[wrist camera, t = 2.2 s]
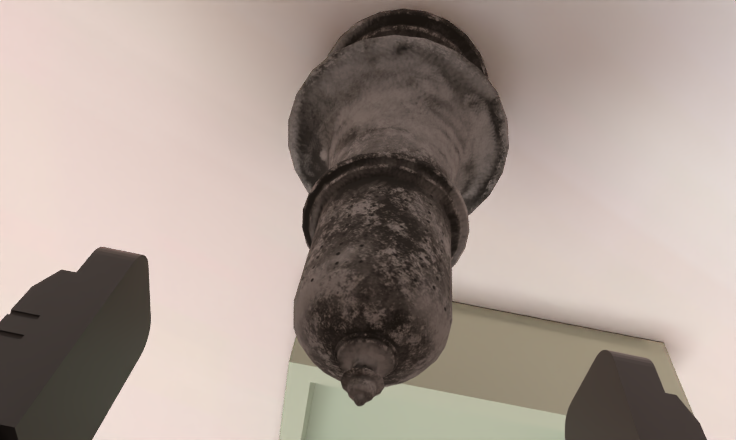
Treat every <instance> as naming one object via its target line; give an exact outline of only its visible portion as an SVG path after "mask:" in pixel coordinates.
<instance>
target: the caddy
mask: <svg viewBox="0 0 736 440" xmlns="http://www.w3.org/2000/svg"><path fill="white" fill-rule="evenodd" d="M602 350H609V351H614V352H619V353H624V354H629V355H634V356H639V357H644V358H648V359H650V360H651V361H652V363H653V364H654V366H655V368H656V371H657V373H658V376H659V378H660V381H661V383H662V386H663V388H664V391H665V393H669V394H674V395H677V396H678V397H679V399H680V400H681V401H682V402H683V403H684V405H685V406H686V407H687V408H688V409H689V411H690V412H691V413H692V414H693V412H692V410H691V407H690V405H689V403H688V400H687V398H686V395H685V393H684V391H683V388H682V386H681V383H680V381H679V379H678V376H677V374H676V371H675V369H674V367H673V364H672V362H671V359H670V357H669V355H668V352H667V350H666V347H665V345H664V343H661V342H656V341H651V340H645V339H640V338H635V337H630V336H625V335H620V334H615V333H609V332H604V331H599V330H594V329H589V328H584V327H579V326H573V325H568V324H563V323H558V322H553V321H548V320H543V319H537V318H532V317H527V316H522V315H517V314H512V313H507V312H502V311H496V310H491V309H486V308H481V307H476V306H471V305H466V304H460V303H455V302H452V324H451V328H450V333H449V337H448V340H447V343H446V346H445V348H444V350H443V351H442V353H441V354H440V356H439V357H438V359H437V360H436V361H435V362H434V363H433V364H431V365H430V366H429V367H428V368H427V369H426V370H424V371H423V372H422V373H420V374H419V375H418V376H416V377H414V378H412V379H410V380H408V381H406V382H404V383H401V384H397V385H393V386H389V387H384V389H383V390H382V392H381V394H379V395H377V396H375V397H373V399H372V400H371V401H369V402H367V403H365V404H364V405H363V406H357V405H356V404H355V403H354V401H353V400H352V399H351V398H350V397H349V396H348V393H347V392H346V391H345V390H344V389H343V388H342V385H341V381H338V380H336V379H335V378H333V377H331V376H329V375H327V374H326V373H324V372H323V371H322V370H321V369H319V368H318V367H317V366H316V365H315V364H314V363H313V362H312V361H311V359H310V358H309V357H308V355H307V354H306V352H305V351H304V349H303V348H302V347H301V345H300V344H299V342H298V339H297V336H296V338H295V342H294V345H293V349H292V353H291V356H290V360H289V365H288V373H287V381H286V388H285V396H284V404H283V412H282V420H281V428H280V435H279V440H565V420H566V415H567V411H568V408H569V405H570V403H571V401H572V400H573V398H574V396H575V394H576V392H577V391H578V389H579V387H580V385H581V383H582V381H583V380H584V378H585V376H586V374H587V372H588V371H589V369H590V367H591V365H592V363H593V362H594V360H595V358H596V356H597V355H598V354H599V352H601V351H602ZM693 416H694V415H693Z"/></svg>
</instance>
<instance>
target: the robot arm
mask: <svg viewBox="0 0 736 440" xmlns="http://www.w3.org/2000/svg"><path fill="white" fill-rule="evenodd" d="M150 323H151V313H150V291H149V268H148V260H147V258H146V256H144V255H140V254H135V253H130V252H126V251H121V250H116V249H111V248H106V247H99V248H97V249H96V250H95V251H94V252H93V253H92V254H91V256H90V257H89V258H88V259H87V260H86V262H85V263H84V264H83V265H82V266H81V268H80V269H79V270H78V271H77V272H71V271H66V270H60V271H58V272H57V273H55V274H53V275H52V276H50V277H48V278H46V279H45V280H43V281H41V282H39V283H38V284H36V285H34V286H32V287H31V288H30V289H29V291H28V292H27V293H26V294H25V295H24V296H23V297H22V298H21V299H20V300H19V302H18V303H17V304H16V305H15V306H14V307H13V308H12V309H11V313H10V315H8V314H7V315H6V316H5V317H4V318H3V319H2V320H1V321H0V440H92V439H93V437H94V435H95V434H96V432H97V430H98V428H99V427H100V425H101V423H102V421H103V420H104V418H105V416H106V415H107V413H108V411H109V409H110V408H111V406H112V404H113V402H114V401H115V399H116V397H117V395H118V394H119V392H120V390H121V389H122V387H123V385H124V383H125V382H126V380H127V378H128V376H129V375H130V373H131V371H132V370H133V368H134V366H135V364H136V363H137V361H138V359H139V357H140V356H141V354H142V352H143V350H144V347H145V345H146V342H147V339H148V335H149V330H150ZM565 440H707V439H706V437H705V434H704V432H703V430H702V427H701V425H700V423H699V422H698V420H697V419H696V418H695V417H694V416H693V414H692V413H691V412H690V411H689V409H688V408H687V407H686V406H685V405H684V403H683V402H682V401H681V400H680V399H679V397H678V396H677V395H674V394H669V393H665V391H664V388H663V386H662V383H661V381H660V378H659V376H658V373H657V371H656V368H655V366H654V364H653V363H652V361H651V360H650V359H648V358H644V357H639V356H634V355H629V354H624V353H619V352H614V351H609V350H602V351H601V352H599V354H598V355H597V356H596V358H595V360H594V362H593V363H592V365H591V367H590V369H589V371H588V372H587V374H586V376H585V378H584V380H583V381H582V383H581V385H580V387H579V389H578V391H577V392H576V394H575V396H574V398H573V400H572V401H571V403H570V405H569V408H568V411H567V415H566V420H565Z"/></svg>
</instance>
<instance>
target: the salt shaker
mask: <svg viewBox="0 0 736 440" xmlns="http://www.w3.org/2000/svg"><path fill="white" fill-rule="evenodd" d="M288 147H289V150H290V154H291V157H292V161H293V165H294V168H295V171H296V173H297V174H298V176H299V178H300V180H301V181H302V183H303V185H304V186H305V188H306V190H307V191H308V193H309V195H308V198H307V200H306V203H305V206H304V208H303V224H302V228H303V232H304V236H305V239H306V243H307V246H308V247H309V249H310V250H309V253H308V257H307V260H306V263H305V266H304V270H303V273H302V276H301V279H300V283H299V286H298V289H297V292H296V296H295V299H294V330H295V333H296V336H297V339H298V342H299V344H300V345H301V347H302V348H303V349H304V351H305V352H306V354H307V355H308V357H309V358H310V359H311V361H312V362H313V363H314V364H315V365H316V366H317V367H318V368H319V369H321V370H322V371H323V372H324V373H326V374H327V375H329V376H331V377H333V378H335V379H336V380H338V381H341V385H342V388H343V389H344V390H345V391H346V392H347V393H348V396H349V397H350V398H351V399H352V400H353V401H354V403H355V404H356V405H357V406H363V405H364V404H365V403H367V402H369V401H371V400H372V399H373V397H375V396H377V395H379V394H381V392H382V390H383V389H384V387H389V386H393V385H397V384H401V383H404V382H406V381H408V380H410V379H412V378H414V377H416V376H418V375H419V374H420V373H422V372H423V371H424V370H426V369H427V368H428V367H429V366H430V365H431V364H433V363H434V362H435V361H436V360H437V359H438V357H439V356H440V354H441V353H442V351H443V350H444V348H445V346H446V343H447V340H448V337H449V333H450V328H451V324H452V267H453V266H454V265H455V264H456V263H457V261H458V259H459V258H460V256H461V254H462V252H463V251H464V249H465V246H466V242H467V238H468V234H469V221H468V215H469V214H471V213H472V212H473V211H474V210H475V209H476V208H477V207H478V206H479V205H480V204H481V203H482V202H483V201H484V200H485V199H486V198H487V197H488V196H489V195H490V193H491V192H492V190H493V188H494V187H495V185H496V183H497V181H498V180H499V178H500V176H501V174H502V173H503V169H504V165H505V160H506V156H507V152H508V148H509V143H508V124H507V118H506V115H505V112H504V109H503V107H502V104H501V101H500V98H499V96H498V93H497V91H496V90H495V89H494V87H493V86H492V85H491V83H490V82H489V81H488V75H487V72H486V69H485V66H484V63H483V61H482V58H481V55H480V53H479V51H478V50H477V49H476V47H475V46H474V45H473V43H472V42H471V41H470V39H469V38H468V37H467V35H466V34H465V33H463V32H462V31H461V30H459V29H458V28H457V27H455V26H454V25H453V24H452V23H450V22H449V21H448V20H445V19H443V18H440V17H438V16H435V15H433V14H430V13H428V12H423V11H415V10H406V9H400V10H393V11H387V12H380V13H377V14H375V15H373V16H371V17H368V18H366V19H364V20H362V21H359V22H358V23H356V24H355V25H354V26H353V27H352V28H350V29H349V30H348V31H347V32H346V33H344V34H343V35H342V36H341V37H340V38H339V40H338V41H337V43H336V44H335V46H334V47H333V49H332V50H331V52H330V53H329V55H328V57H327V59H326V60H324V61H323V62H322V63H321V64H319V65H318V66H317V67H316V68H315V69H313V70H312V72H311V73H310V75H309V76H308V78H307V79H306V81H305V82H304V84H303V85H302V87H301V88H300V90H299V91H298V93H297V94H296V97H295V101H294V104H293V107H292V110H291V114H290V117H289V121H288Z"/></svg>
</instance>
